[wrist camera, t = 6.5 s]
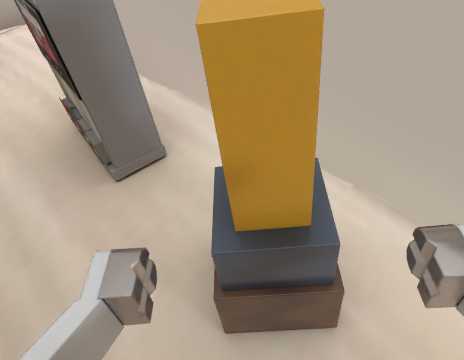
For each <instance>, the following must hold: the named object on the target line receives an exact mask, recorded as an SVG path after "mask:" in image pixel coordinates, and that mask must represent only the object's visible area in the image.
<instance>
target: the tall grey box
mask: <svg viewBox="0 0 464 360" xmlns="http://www.w3.org/2000/svg"><path fill="white" fill-rule="evenodd" d="M14 1H15V3H16V5H17V7H18V9H19V11H20V12H21V14H22V16H23V18H24V20H25V22H26V24H27V26H28V28H29V30H30V32H31V33H32V35H33V37H34V39H35V41H36V43H37V45H38V47H39V49H40V51H41V52H42V54H43V56H44V57H45V58H46V60H47V61H48V63H49V65H50V67H51V69H52V71H53V73H54V75H55V76H56V78H57V80H58V82H59V84H60V86H61V88H62V90H63V92H64V94H65V96H66V98H65V99H63V100H61V99H60V100H61V102H62V104H63V106H64V108H65V109H66V111H67V113H68V115H69V117H70V119H71V120H72V121H73V123H74V124H75V126H76V127H77V128H78V129H79V131H80V132H81V134H82V135H83V136H84V138H85V139H86V140H87V141H88V143H89V144H90V146H91V147H92V148H93V150H94V152H95V154H96V155H97V156H98V158H99V159H100V160H101V162H102V163H103V165H105V166H106V167H107V169H108V170H109V172H110V173H111V174H112V176H113V177H114V179H115V180H116V181H117V180H121V179H123V178H124V177H125V176H127V175H129V174H130V173H132V172H134V171H136V170H138V169H140V168H142V167H144V166H145V165H147V164H149V163H151V162H153V161H155V160H157V159H160V158H162V157H163V156H164V155H166V151H165V148H164V146H163V145H162V144H161V141H160V138H159V135H158V132H157V129H156V126H155V123H154V120H153V117H152V114H151V111H150V108H149V105H148V103H147V100H146V97H145V94H144V91H143V88H142V85H141V82H140V79H139V76H138V73H137V70H136V67H135V64H134V61H133V58H132V56H131V52H130V49H129V46H128V44H127V41H126V38H125V35H124V32H123V29H122V26H121V23H120V20H119V17H118V14H117V11H116V8H115V5H114V2H113V0H14Z"/></svg>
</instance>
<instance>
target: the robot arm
mask: <svg viewBox="0 0 464 360" xmlns="http://www.w3.org/2000/svg"><path fill="white" fill-rule="evenodd" d="M413 237H414V239H415V240H413V241H412V242H410V243H409V245H408V248H407V261H408V265H409V268H410V270H411V273H412V274H413V275H414V276H416V277H417V278H418V279H419V283H418V286H417V288H418V290H419V293H420V295H421V298H422V300H423V303H424V305H425V307H426V308H443V307H457V308H456V309H457V310H458V311H459V312H460V313H461V314H462V315H463V316H464V224H456V225H452V224H451V225H439V226H427V227H418V228H416V229H415V230H414V232H413ZM148 257H149V252H148V250H147V249H146V248H130V249H111V250H98V251H97V252H96V253H95V255H94V256H93V259H92V262H91V265H90V268H89V272H88V275H87V278H86V281H85V284H84V288H83V291H82V294H81V297H80V300H77V301H74V302H73V303H72V304H71V305H70V306H69V307H68V308H67V310H66V311H65V312H64V313H63V314H62V315H61V316H60V317H59V318H58V319H57V320H56V321H55V322H54V323H53V324H52V325H51V326H50V327H49V328H48V329H47V331H46V332H45V333H44V334H43V335H42V336H41V337H40V338H39V339H38V340H37V341H36V342H35V343H34V344H33V345H32V346H31V347H30V348H29V349H28V351H27V352H26V353H25V354H24V355H23V356H22V357H21V358H20V359H19V360H102V358H103V357H104V355H105V354H106V352H107V351H108V350H109V348H110V347H111V345H112V344H113V342H114V341H115V339H116V338H117V337H118V335H119V334H120V332H121V331H122V329H123V328H124V326H123V325H135V324H147V323H150V321H151V315H152V308H153V301H152V299H151V298H150V295H151V294H152V293H153V292H154V291H155V289H156V282H157V271H156V267H155V264H154V262H153V261H152V260H150V259H148Z"/></svg>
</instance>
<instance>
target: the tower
mask: <svg viewBox="0 0 464 360" xmlns="http://www.w3.org/2000/svg"><path fill="white" fill-rule="evenodd" d="M339 249H340V241H339V237H338V234H337V230H336V226H335V222H334V218H333V215H332V211H331V207H330V203H329V199H328V196H327V192H326V188H325V184H324V180H323V177H322V173H321V169H320V165H319V161H318V158H315V167H314V183H313V199H312V216H311V226H301V227H289V228H276V229H263V230H250V231H237V232H236V231H235V228H234V222H233V217H232V212H231V207H230V201H229V196H228V191H227V186H226V180H225V175H224V170H223V166H222V167H215V176H214V201H213V226H212V251H211V254H212V257H213V261H214V264H215V274H214V302H215V304H216V307H217V310H218V313H219V316H220V319H221V322H222V325H223V328H224V331H225V333H237V332H255V331H274V330H292V329H310V328H329V327H337V323H338V318H339V313H340V309H341V304H342V300H343V295H344V287H343V283H342V279H341V275H340V271H339V267H338V263H337V261H338V255H339Z"/></svg>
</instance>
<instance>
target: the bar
mask: <svg viewBox="0 0 464 360" xmlns="http://www.w3.org/2000/svg"><path fill="white" fill-rule="evenodd" d="M323 18H324V7H323V5H322V3H321V1H320V0H200V3H199V10H198V16H197V22H196V27H197V33H198V38H199V43H200V49H201V54H202V59H203V64H204V69H205V75H206V80H207V85H208V91H209V96H210V101H211V107H212V112H213V117H214V122H215V128H216V133H217V138H218V143H219V149H220V154H221V159H222V164H223V170H224V175H225V180H226V186H227V191H228V196H229V201H230V207H231V212H232V217H233V222H234V228H235V231H236V232H237V231H250V230H263V229H276V228H289V227H301V226H311V216H312V199H313V183H314V167H315V149H316V134H317V118H318V117H317V116H318V100H319V85H320V84H319V83H320V67H321V52H322V36H323Z"/></svg>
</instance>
